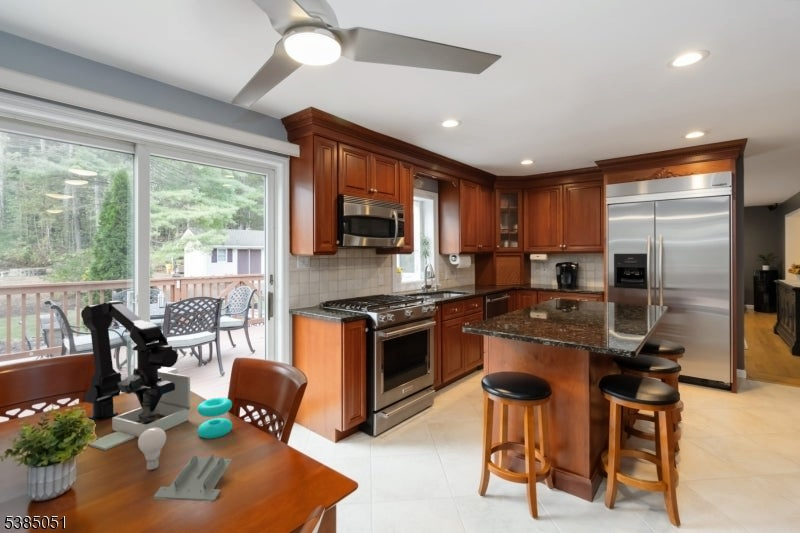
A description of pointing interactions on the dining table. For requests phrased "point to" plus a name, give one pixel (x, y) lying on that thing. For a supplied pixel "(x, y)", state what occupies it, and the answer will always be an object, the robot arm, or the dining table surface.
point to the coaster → (111, 440)
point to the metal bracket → (196, 480)
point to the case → (160, 408)
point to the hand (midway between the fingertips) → (148, 410)
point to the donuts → (216, 425)
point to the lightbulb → (152, 445)
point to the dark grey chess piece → (147, 411)
